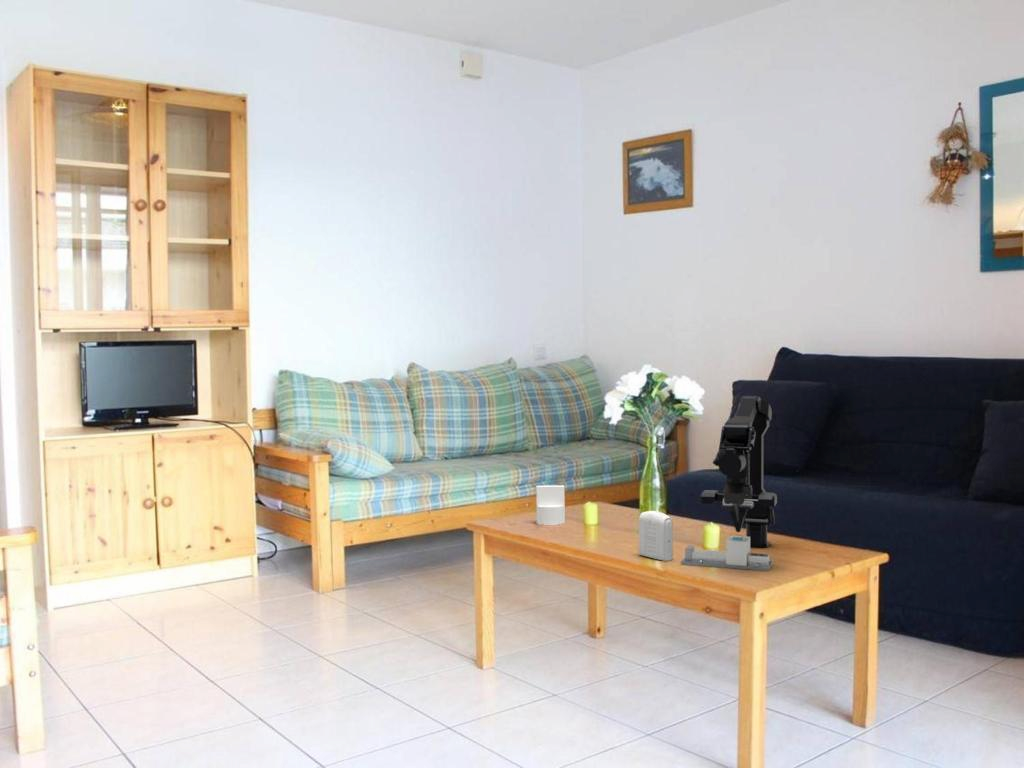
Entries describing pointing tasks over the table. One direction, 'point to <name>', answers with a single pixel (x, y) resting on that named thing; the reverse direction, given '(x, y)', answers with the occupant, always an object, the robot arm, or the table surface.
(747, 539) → the module
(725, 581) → the table surface
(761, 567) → the rail panel
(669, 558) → the photo printer
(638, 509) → the table surface
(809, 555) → the table surface
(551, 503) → the cylinder with rectangular tab
